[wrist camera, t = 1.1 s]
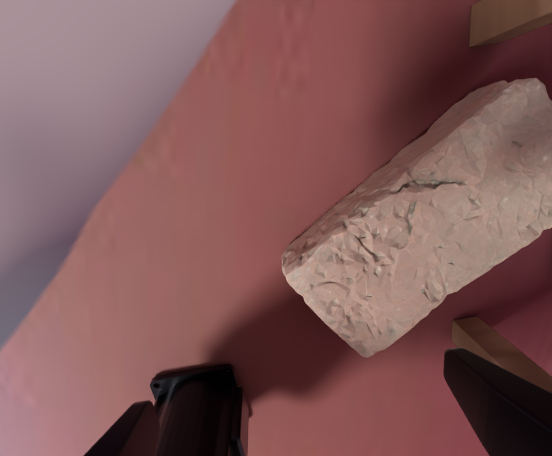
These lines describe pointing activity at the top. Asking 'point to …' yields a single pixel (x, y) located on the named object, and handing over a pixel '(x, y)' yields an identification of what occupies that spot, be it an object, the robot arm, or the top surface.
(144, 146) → the top surface
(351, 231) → the brick
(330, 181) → the top surface
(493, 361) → the shelf frame
